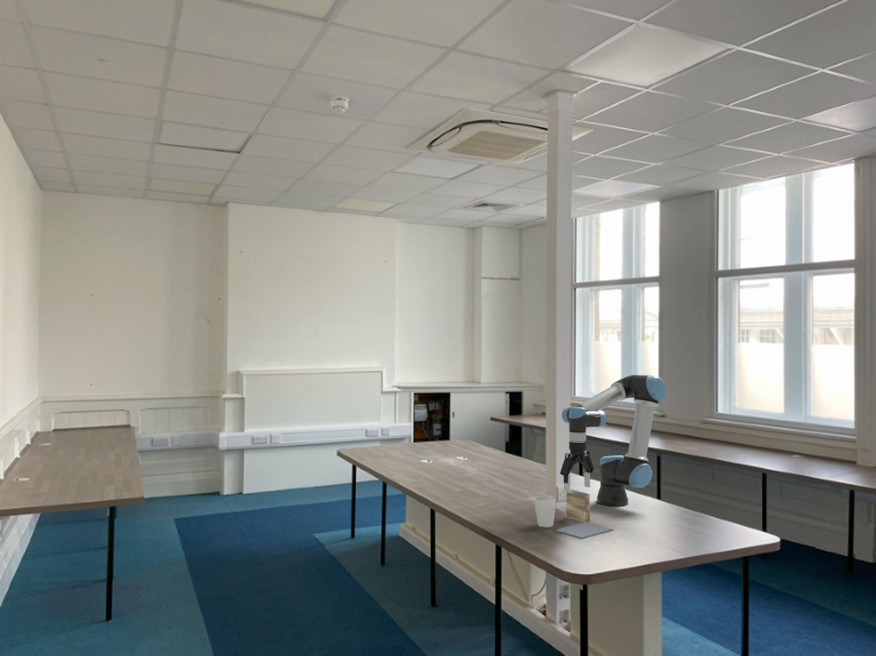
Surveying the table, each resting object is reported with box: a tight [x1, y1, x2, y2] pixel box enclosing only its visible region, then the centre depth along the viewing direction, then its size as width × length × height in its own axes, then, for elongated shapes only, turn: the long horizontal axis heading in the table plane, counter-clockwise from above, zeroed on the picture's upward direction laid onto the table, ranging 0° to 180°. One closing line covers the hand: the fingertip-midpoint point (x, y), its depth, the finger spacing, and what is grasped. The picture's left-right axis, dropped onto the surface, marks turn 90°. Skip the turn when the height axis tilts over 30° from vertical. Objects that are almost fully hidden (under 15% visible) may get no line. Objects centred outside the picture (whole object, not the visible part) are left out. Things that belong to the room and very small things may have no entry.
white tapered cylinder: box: [534, 494, 557, 528], centre depth 288 cm, size 9×9×12 cm
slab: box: [566, 489, 591, 523], centre depth 298 cm, size 4×10×12 cm, turn 37°
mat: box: [555, 521, 614, 540], centre depth 279 cm, size 20×14×1 cm
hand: (577, 488), depth 298 cm, fingers open, 13 cm apart
